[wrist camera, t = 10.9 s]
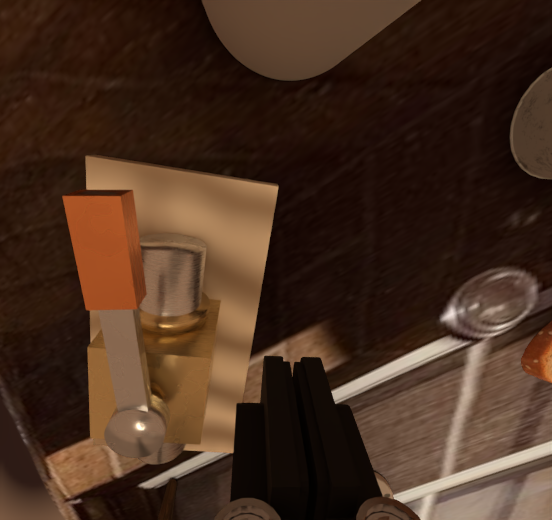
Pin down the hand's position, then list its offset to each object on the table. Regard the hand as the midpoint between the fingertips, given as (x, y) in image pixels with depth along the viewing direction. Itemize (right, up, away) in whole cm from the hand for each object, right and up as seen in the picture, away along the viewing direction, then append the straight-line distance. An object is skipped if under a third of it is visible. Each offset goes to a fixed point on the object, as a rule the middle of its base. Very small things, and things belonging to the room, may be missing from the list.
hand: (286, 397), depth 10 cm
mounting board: (-10, -2, +23) cm, 25 cm away
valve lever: (-9, 0, +10) cm, 14 cm away
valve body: (-10, -3, +22) cm, 24 cm away
